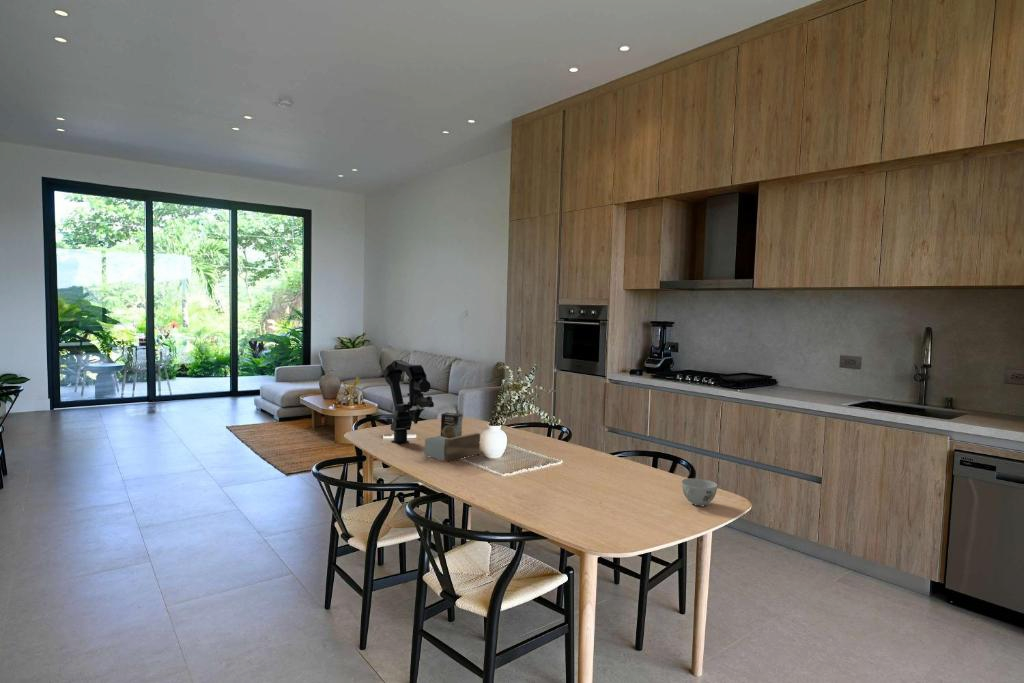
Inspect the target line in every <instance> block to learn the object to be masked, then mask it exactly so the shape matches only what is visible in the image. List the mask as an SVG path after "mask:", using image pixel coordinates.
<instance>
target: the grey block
mask: <svg viewBox="0 0 1024 683" xmlns="http://www.w3.org/2000/svg"><path fill="white" fill-rule="evenodd" d="M445 439H448V438H446V437H442V436H441V435H439V436H433V437H427V438H425V439H424V456H425V455H426V456H425V457H427V456H430V457H429V458H431V457H433V458H432V459H434V458H436V459H435V460H437V459H440V460H439V461H441V460H443V461H442V462H445V461H444V444H445Z"/></svg>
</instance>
